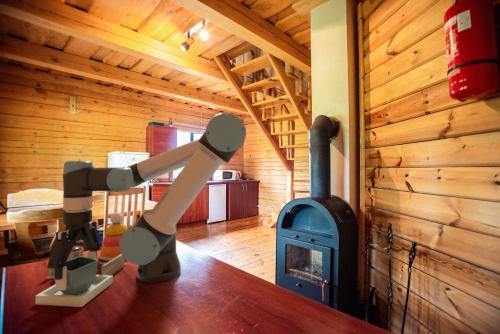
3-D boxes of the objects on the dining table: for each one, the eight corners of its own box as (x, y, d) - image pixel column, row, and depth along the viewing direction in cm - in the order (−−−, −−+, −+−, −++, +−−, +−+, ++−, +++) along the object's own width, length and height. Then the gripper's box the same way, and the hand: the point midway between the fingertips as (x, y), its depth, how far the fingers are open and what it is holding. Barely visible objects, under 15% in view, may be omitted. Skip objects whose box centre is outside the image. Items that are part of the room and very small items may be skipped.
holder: (125, 264, 98) (125, 252, 98) (102, 281, 84) (102, 267, 84) (77, 262, 99) (77, 250, 99) (46, 278, 85) (46, 264, 85)
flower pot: (99, 287, 79) (99, 259, 78) (71, 302, 70) (70, 271, 70) (80, 282, 82) (80, 255, 82) (51, 295, 74) (51, 266, 73)
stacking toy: (142, 251, 113) (142, 209, 112) (122, 264, 98) (123, 216, 98) (113, 250, 114) (113, 208, 114) (90, 262, 100) (90, 214, 100)
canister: (86, 267, 95) (87, 245, 94) (75, 274, 89) (75, 250, 89) (73, 267, 95) (73, 245, 95) (61, 273, 89) (61, 250, 89)
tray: (112, 282, 83) (112, 275, 83) (81, 306, 69) (81, 298, 69) (73, 280, 84) (73, 273, 84) (35, 304, 70) (35, 295, 70)
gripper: (93, 203, 88) (93, 263, 89) (29, 218, 65) (29, 299, 65) (113, 204, 88) (113, 264, 88) (56, 219, 64) (56, 301, 64)
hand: (77, 279), depth 77 cm, fingers open, 12 cm apart
